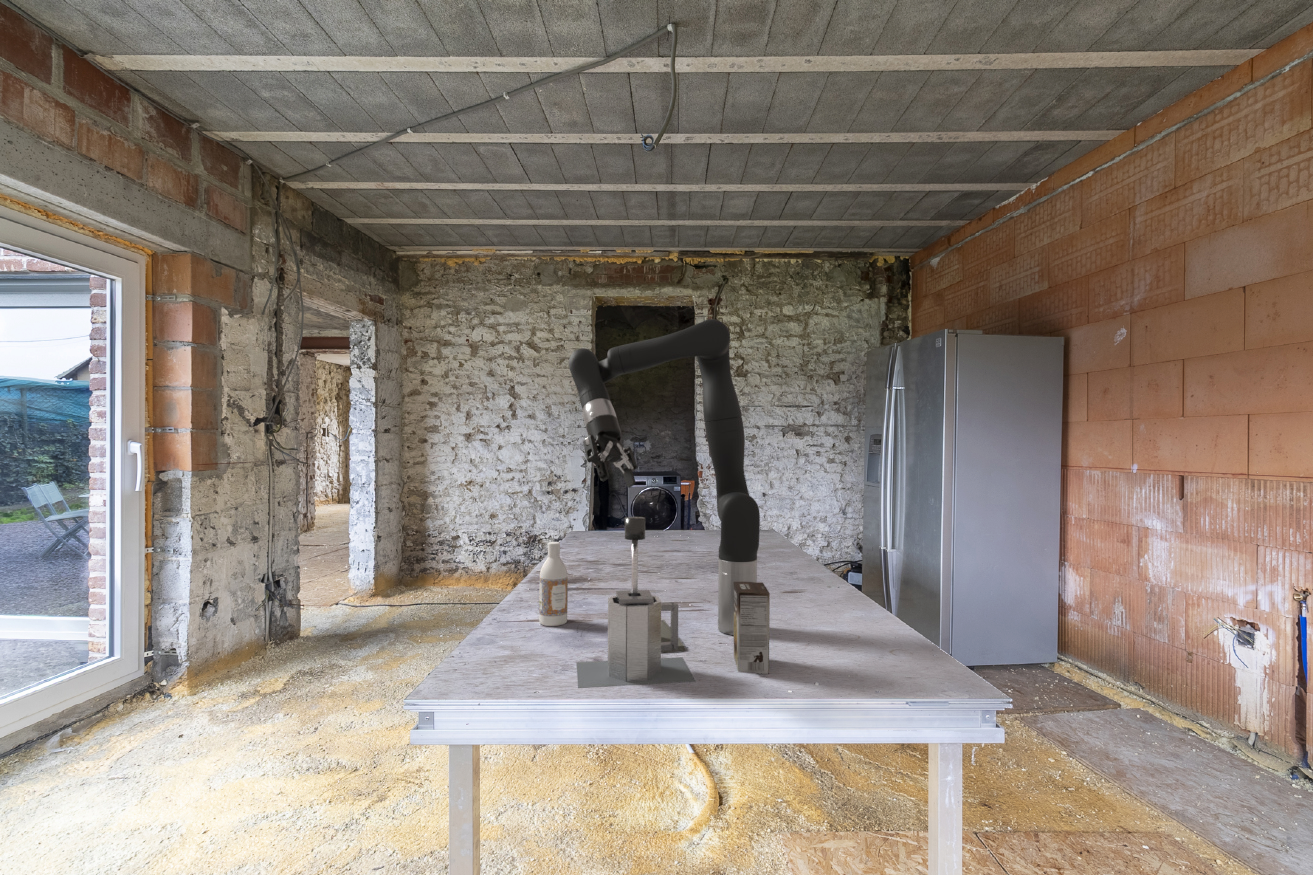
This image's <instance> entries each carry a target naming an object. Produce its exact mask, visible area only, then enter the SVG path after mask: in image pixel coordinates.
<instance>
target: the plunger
mask: <svg viewBox="0 0 1313 875" xmlns="http://www.w3.org/2000/svg"><path fill="white" fill-rule="evenodd" d="M624 539H625V540H627V541H631V589H630V591H631V596H638V590H639V589H638V588H639V587H638V586H639V585H638V581H639V580H638V578H639V575H638V574H639V570H638V568H639V565H638V564H639V561H638V560H639V541H641V540H645V539H646V517H643V516H626V517H624ZM631 606H637V604H631Z"/></svg>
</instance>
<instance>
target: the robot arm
mask: <svg viewBox="0 0 1313 875" xmlns="http://www.w3.org/2000/svg"><path fill="white" fill-rule="evenodd" d="M730 344H731V333H730V330H729V328H728V326H727V325H726V324H725V323H724V322H722V321H720V320H718V319H714V318H713V319H712V318H709V319H704V320H702V321H701V322H698V323H696V324H693V325H691V326H689V327H686V328H685V329H681V330H679V331H676V332H672V333H668V334H666V335H663V336H658V337H655V338H650V339H645V340H640V341H635V342H631V343H626V344H623V345H619V346H613V347H612V348H609V349H608V351H607V354H606V355H607V356H606V358H604V359H602V360H600V361H599V360H598V358H597V356H596V354H595V353H594V352H593V351H592V350H590V349H589V348H586V347H582V348H578V349H575V350H574V351H572V353H571V355H570V356H569V359H568V367H569V371H570V375H571V377H572V380H573V382H574V386H575V387H576V390H577V393H578V397H579V402H580V405H581V409H582V415H583V416H582V417H583V421H584V425H585V429H586V432H587V435H588V436H587V437H586V438H585V439H583V441H582V444H583V447H584V448H583V449H584V454H585V457H586V461H587V462H588V463H593V465H594V467H595V468H596V471H597V476H598V477H599V479H600V481H602V482H605V481H607V480H608V479H609V478H610V472H609V470H608V466H607V461H608V462H611V463H612V464H613V465H614V466H615V468H619V470H620V471H621V473H622V475H623V479H624V482H625V487H626V488H632V487H634V486H635V484H636V479H635V476H634V471H635V470H636V469H638V468H639V467H638V464H637V460H636V458H635V456H634V452H633V449H632V447H631V446H627V447H626V448H625V447H623V445H622V444H621V437H622V431H621V427H620V424H619V421H618V417H617V413H616V411H615V409H614V406H613V404H612V401H611V397H610V395H609V392H608V388H607V386H606V385H605V384H606V383H608V382H610V381H612V380H614V379H615V378H617V377H619V376H622V375H628V374H631V373H636V372H640V371H645V370H648V369H651V368H653V367H657V366H660V365H663V364H664V363H667V362H671V361H674V360H675V361H676V360H679V359H685V358H693V357H696V360H697V363H698V367H699V371H700V378H701V382H702V409H703V410H702V411H703V412H702V413H703V422H704V428H705V434H706V439H707V446H708V450H709V455H710V458H711V459H710V460H711V463H712V467H713V471H714V476H715V487H716V489H715V490H716V491H715V492H716V510H717V516H718V518H719V521H720V543H719V546H718V590H717V591H718V592H717V594H718V596H717V598H718V602H717V603H718V605H717V609H718V610H717V611H718V612H717V613H718V614H717V618H718V619H717V626H718V627H717V628H718V629H717V630H718V631H719V632H721V633H723V634H725V635H730V636H734V582H758V551H759V546H760V528H761V519H760V518H761V515H760V513H761V512H760V508H759V504H758V503H757V501H756V500H755V499H754V498H753V497H752V496H750V493H749V489H748V484H747V480H746V479H747V478H746V474H745V469H744V468H745V467H744V466H745V465H744V464H745V451H746V450H745V447H746V446H745V444H746V442H745V440H746V438H745V428H744V421H743V417H742V416H743V415H742V411H741V406H740V402H739V399H738V398H739V397H738V395H737V392H736V388H735V385H734V382H733V379H732V372H731V358H730ZM621 458H622V459H621ZM620 459H621V460H620ZM619 460H620V461H619ZM623 464H624V465H623Z"/></svg>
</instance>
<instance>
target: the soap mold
mask: <svg viewBox="0 0 1313 875" xmlns="http://www.w3.org/2000/svg"><path fill="white" fill-rule="evenodd" d="M661 642H671V626H670V625H669V624H668V623H667V622H666V621H665V619H661ZM675 652H676V653H677V652H678V653H679V652H686V647H685V644H684V643H683V642H682V641H681V639H680V638H679V637H678V650H675V651H661V654H662V653H675Z"/></svg>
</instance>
